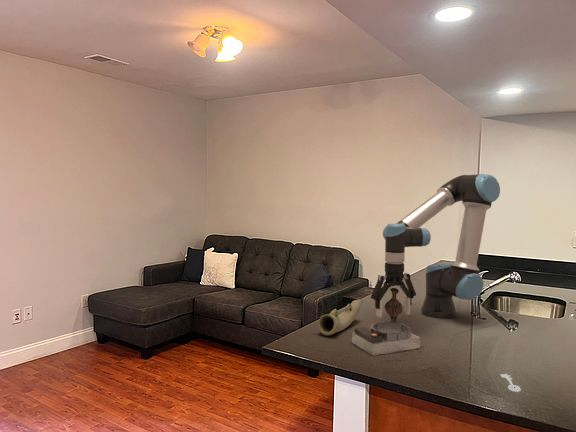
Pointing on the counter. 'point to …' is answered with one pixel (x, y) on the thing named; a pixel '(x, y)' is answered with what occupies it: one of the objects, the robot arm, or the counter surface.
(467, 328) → the counter surface
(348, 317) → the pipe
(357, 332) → the white flat device
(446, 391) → the counter surface
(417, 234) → the robot arm
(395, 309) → the figurine
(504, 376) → the key
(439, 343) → the counter surface
